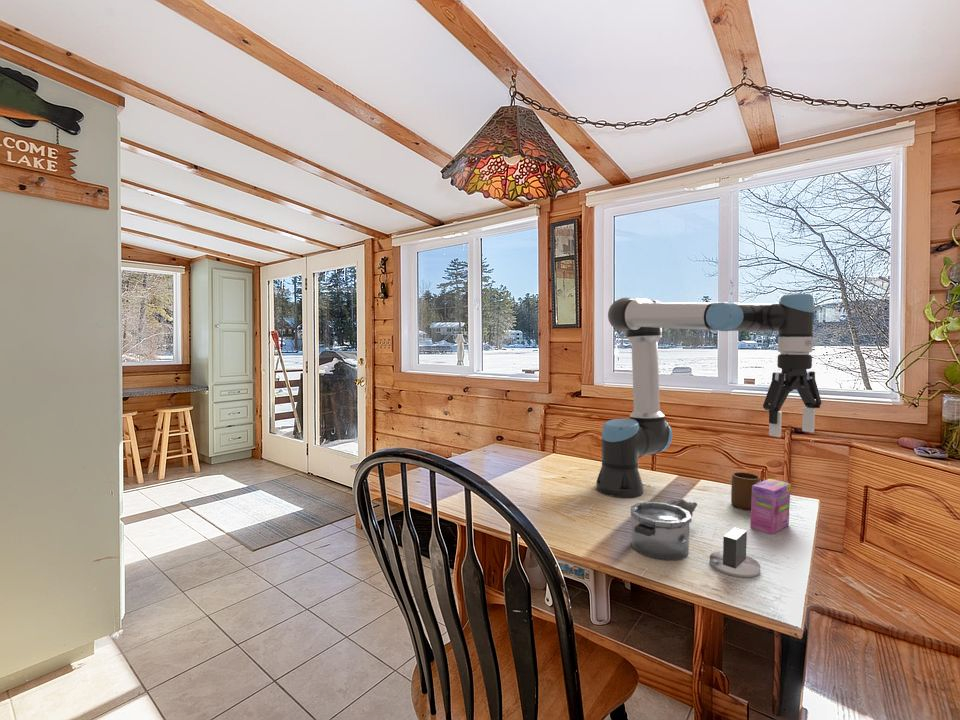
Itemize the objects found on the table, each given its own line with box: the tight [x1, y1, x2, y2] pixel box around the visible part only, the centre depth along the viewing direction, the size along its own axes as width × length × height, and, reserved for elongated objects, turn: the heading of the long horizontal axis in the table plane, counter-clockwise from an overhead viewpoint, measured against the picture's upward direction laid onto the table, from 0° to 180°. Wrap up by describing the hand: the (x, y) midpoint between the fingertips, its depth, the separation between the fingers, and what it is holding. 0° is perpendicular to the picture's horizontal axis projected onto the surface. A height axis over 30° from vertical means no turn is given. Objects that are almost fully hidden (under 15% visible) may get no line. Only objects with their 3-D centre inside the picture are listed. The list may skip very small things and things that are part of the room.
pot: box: [630, 501, 693, 562], centre depth 115 cm, size 14×18×9 cm
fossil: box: [666, 498, 698, 518], centre depth 129 cm, size 11×9×8 cm
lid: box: [709, 527, 761, 579], centre depth 106 cm, size 10×10×8 cm
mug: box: [730, 471, 761, 511], centre depth 142 cm, size 12×8×9 cm, turn 10°
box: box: [749, 478, 792, 535], centre depth 128 cm, size 10×6×12 cm, turn 126°
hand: (791, 434), depth 125 cm, fingers open, 13 cm apart
